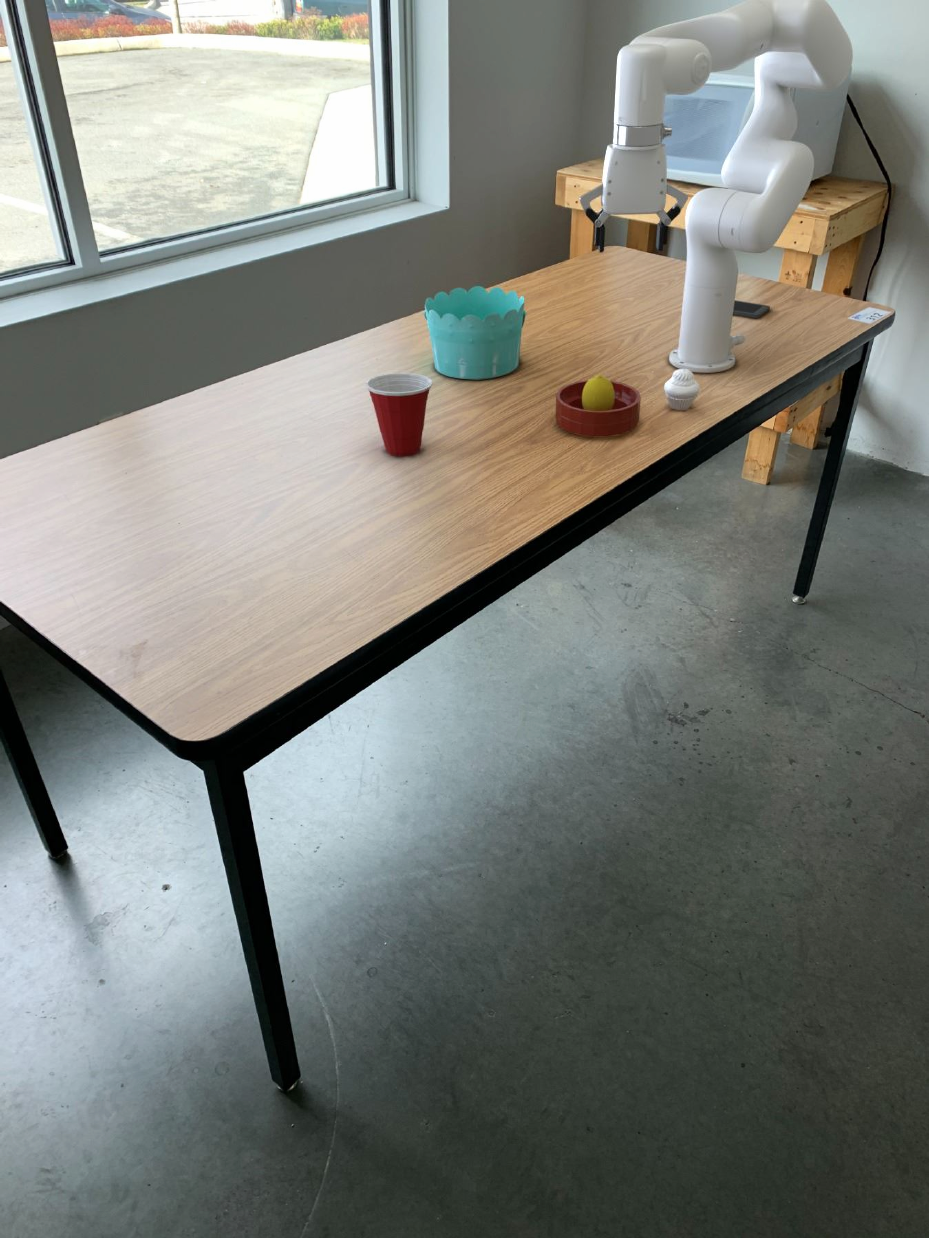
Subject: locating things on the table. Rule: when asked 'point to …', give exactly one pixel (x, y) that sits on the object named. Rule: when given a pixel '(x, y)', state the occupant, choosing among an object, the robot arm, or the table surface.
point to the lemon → (598, 394)
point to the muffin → (681, 389)
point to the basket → (475, 332)
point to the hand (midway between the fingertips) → (630, 249)
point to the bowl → (597, 422)
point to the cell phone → (749, 309)
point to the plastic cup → (400, 410)
